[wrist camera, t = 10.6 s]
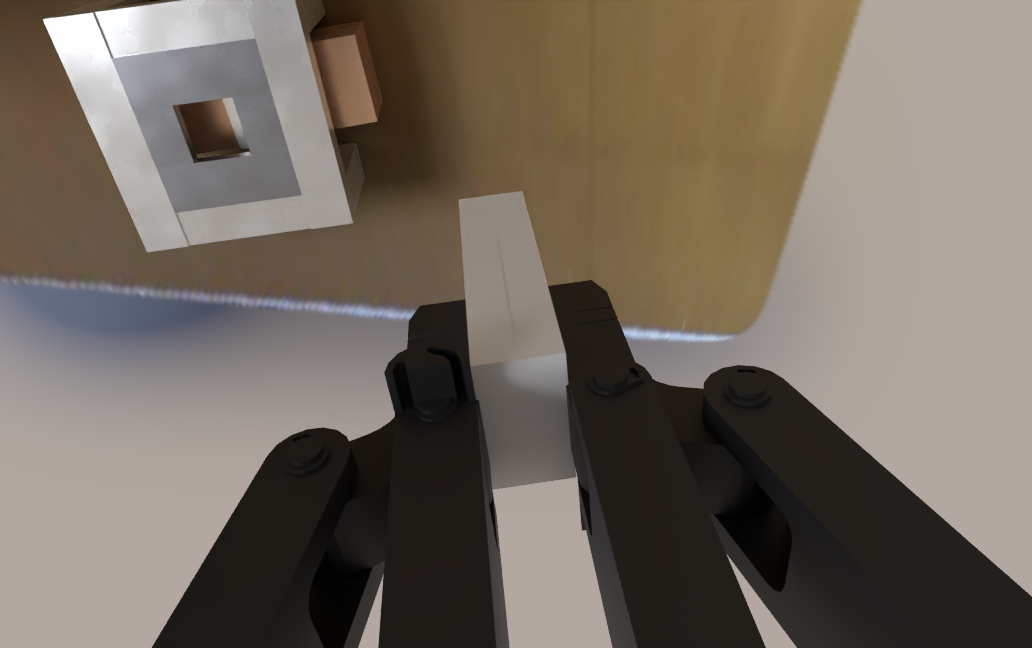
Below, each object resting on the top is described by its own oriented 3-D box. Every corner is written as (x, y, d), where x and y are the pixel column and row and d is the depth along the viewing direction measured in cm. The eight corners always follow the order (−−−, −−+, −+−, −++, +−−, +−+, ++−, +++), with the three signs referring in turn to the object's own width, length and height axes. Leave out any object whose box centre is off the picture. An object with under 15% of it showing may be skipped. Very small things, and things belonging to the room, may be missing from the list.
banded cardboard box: (163, 143, 37) (134, 171, 34) (126, 57, 35) (90, 77, 31) (384, 103, 37) (378, 127, 34) (361, 14, 35) (352, 30, 31)
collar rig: (186, 201, 39) (147, 252, 34) (105, -3, 33) (42, 19, 28) (364, 176, 39) (353, 223, 34) (314, -32, 33) (291, -14, 28)
